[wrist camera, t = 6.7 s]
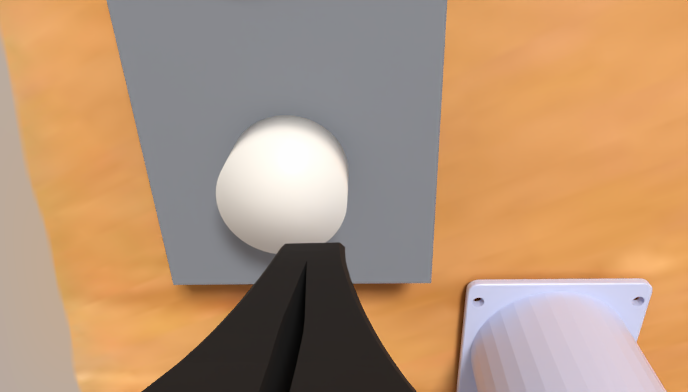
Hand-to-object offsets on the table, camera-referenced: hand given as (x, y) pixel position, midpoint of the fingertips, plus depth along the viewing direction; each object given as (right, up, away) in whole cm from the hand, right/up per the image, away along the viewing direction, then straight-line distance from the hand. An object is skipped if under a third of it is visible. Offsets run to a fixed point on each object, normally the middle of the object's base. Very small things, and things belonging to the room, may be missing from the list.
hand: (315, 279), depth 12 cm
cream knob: (-1, +4, +9) cm, 10 cm away
